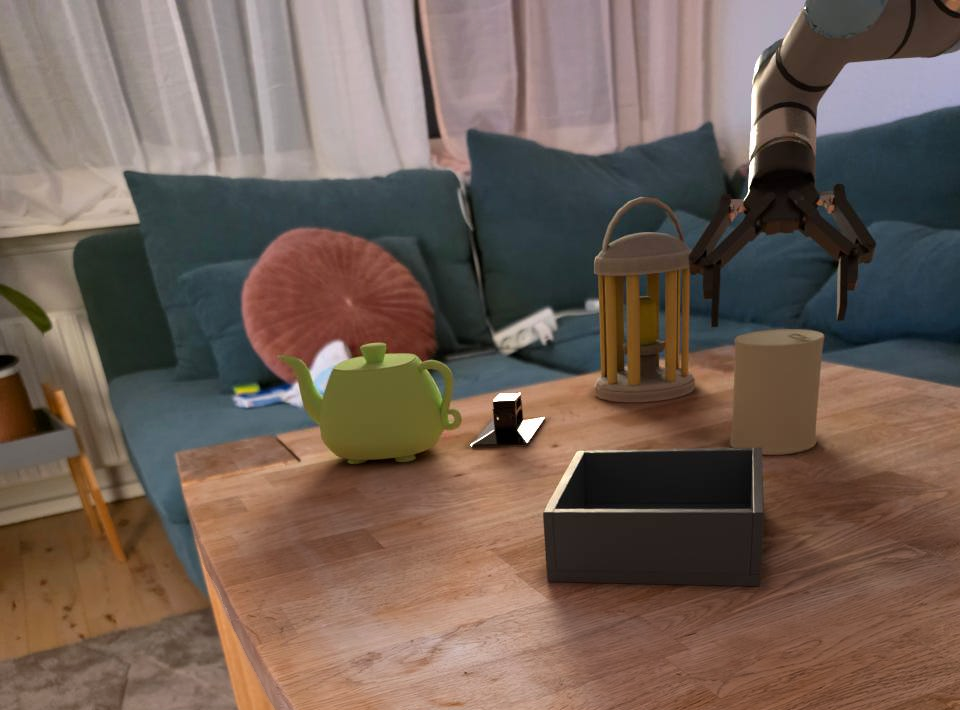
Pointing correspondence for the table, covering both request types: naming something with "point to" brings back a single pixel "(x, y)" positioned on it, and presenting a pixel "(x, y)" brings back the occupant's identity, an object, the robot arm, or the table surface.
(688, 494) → the dark grey open box
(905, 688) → the table surface
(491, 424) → the dark brown finned block
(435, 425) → the teapot
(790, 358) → the can
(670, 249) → the lantern
